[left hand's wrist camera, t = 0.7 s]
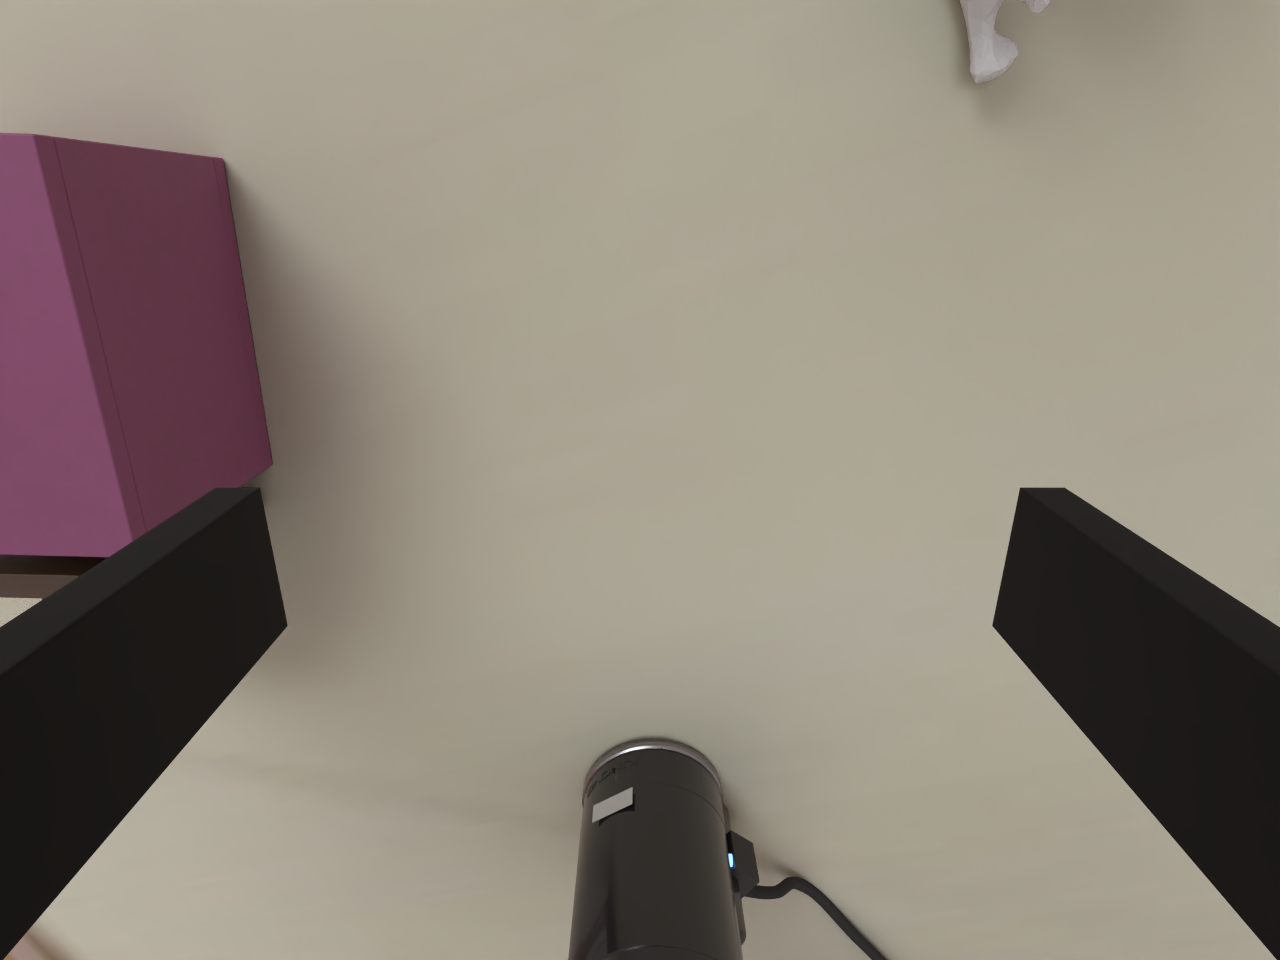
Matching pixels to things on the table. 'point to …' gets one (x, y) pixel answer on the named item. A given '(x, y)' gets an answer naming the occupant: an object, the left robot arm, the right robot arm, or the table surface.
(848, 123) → the table surface
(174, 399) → the cabinet
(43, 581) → the drawer
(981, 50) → the anatomical model
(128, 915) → the table surface
